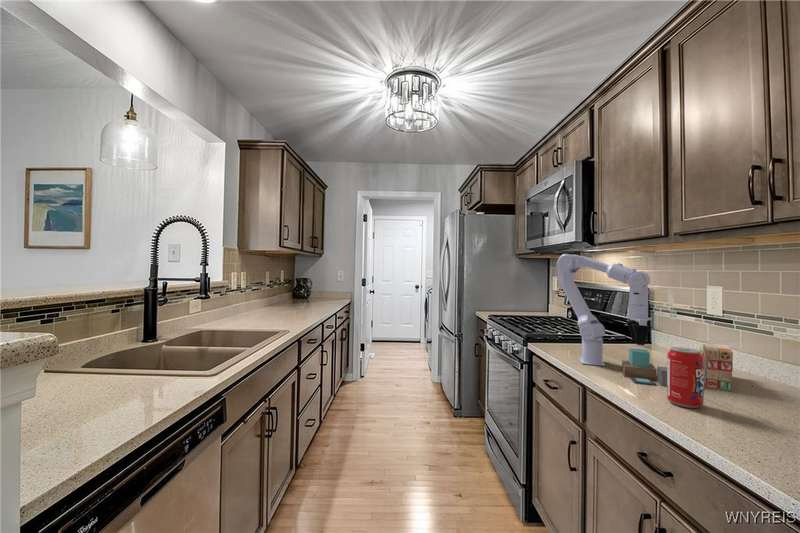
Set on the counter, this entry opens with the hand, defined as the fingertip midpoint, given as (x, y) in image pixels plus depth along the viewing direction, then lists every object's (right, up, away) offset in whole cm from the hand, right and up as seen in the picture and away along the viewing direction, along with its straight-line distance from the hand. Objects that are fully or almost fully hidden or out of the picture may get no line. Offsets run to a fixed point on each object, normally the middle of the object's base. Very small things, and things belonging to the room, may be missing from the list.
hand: (638, 342), depth 130 cm
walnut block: (-3, -11, -4) cm, 12 cm away
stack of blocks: (+19, -11, -10) cm, 24 cm away
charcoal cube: (0, -10, -14) cm, 18 cm away
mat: (-6, -10, -12) cm, 17 cm away
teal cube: (-3, -7, -4) cm, 9 cm away
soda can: (-8, -10, -31) cm, 34 cm away
